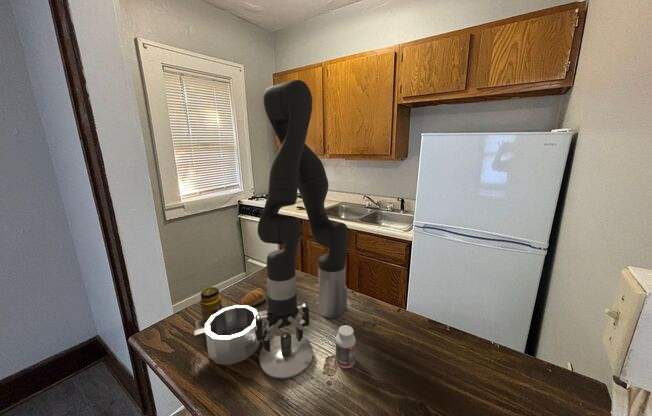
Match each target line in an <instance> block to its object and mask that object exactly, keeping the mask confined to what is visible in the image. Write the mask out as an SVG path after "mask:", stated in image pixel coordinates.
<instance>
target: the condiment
mask: <svg viewBox="0 0 652 416" xmlns="http://www.w3.org/2000/svg"><path fill="white" fill-rule="evenodd" d="M219 291H220V290H219V288H218V287H215V286H211V287H206V288H205V289H202V291H201V292H200V299H201V300H200V303H199V305H200V309H201V318H202V319H199V320H195V321H194V322H195V323H194V324H195V329H196V330H199V329H202V328H205V324H206V322H207V321H208V320H209V318H210V317H211V316H212V315H213V314H215V313H217V312H218V311H220V310H222V309H223V308H222V307H223V305H222V299H221V298H222V297H221V294H220V292H219Z"/></svg>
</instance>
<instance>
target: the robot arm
mask: <svg viewBox="0 0 652 416" xmlns="http://www.w3.org/2000/svg"><path fill="white" fill-rule="evenodd" d="M262 98H263V99H262V100H263V106H264V110H265V113H266V116H267V118H268V121H269V122H270V124H271V127H272V129H273V130H274V133H275V135H276V136H277V138H278V141H279V142H280V148H279V149H278V152H277V154H276V155H275V157H274V159H273V161H272V164H271V167H270V172H269V178H268V191H267V198H266V201H265V203H264V207H263V210H262V213H261V215H260V218H259V220H258V224H257V236H258V237H259V240H260V241H261V242H263V243H265V244H272V245H273V244H274V245H284V248H283V249H277V250H273V251H271V252H269V253H268V254H267V256H266V299H267V300H266V302H267V314H266V315H263V316H260V315H259V314H258V315H256V316H255V335H256V338H257V341H260V340H261V341H262V345H263V347H264V349H265V351H266V350H267V352H270V340H271V339H270V338H271V336H272V335H273V334H275V332H276V331H277V329H278V330H279V329H282V328H284V327H289V326H290V325H291V324H292V325H293V326H294V327H295V334H296V338H297V340H298V342H299V341H301V339H302V338H303V337H304V328H305V327H308V326H310V311H309V306H308V305H307V303H306V302H305V301H303V302H302V303H301V305H298V296H297V295H298V294H297V293H298V292H297V290H298V285H297V284H298V283H297V282H298V281H297V277H296V257H297V251H298V247H299V243H300V240H301V236H302V233H303V226H302V223H301V220H300V218H298V217H296V216H294V215H282V214H281V215H279V214H278V213H279V211H280V210H281V209H282V208H284V207H290V206H293V205H295V204H296V203H297V201H298V193H299V194H300V197H301V200H302V203H303V206H304V209H305V211H306V215H307V219H308V223H309V227H310V231H311V234H312V239H313V240H314V241H315V243H316V244H317V245H319V246H322V247H324V248H327V249H328V253H324V254H323V255H321V256H319V258H318V261H317V263H318V264H317V271H318V275H317V278H318V306H317V307H318V313H319V314H320V315H321V316H322V317H324V318H328V319H336V318H339V317H341V316H343V314H344V313H345V312H347V309H348V308H347V307H348V286H347V285H346V262H347V259H348V258H347V257H348V251H349V247H348V246H349V239H350V238H349V237H350V234H349V227H348V226H347V224H346V223H345V222H344V223H343V222H341V221H337V220H332V219H330V218H329V216H328V214H327V211H326V208H325V201H326V198H327V195H328V191H329V180H328V176H327V172H326V170H325V166H324V164H323V161H322V160H321V158H320V157H318V155H317V154H316V153H315V152H314V151H313V150H312V149H311V148H310V147H309V146H308V145H307V143H306V140H307V135H308V131H309V127H310V122H311V119H312V112H313V95H312V92H311V90H310V88H309V86H308V85H307V83H306V82H305V81H303V80H300V79H293V80H289V81H288V80H287V81H285V82H281V83H278V84H274V85H271V86H269V87H267V88H266V89H265V90H264V93H263V97H262ZM299 312H300V313H301V317H302V319H301V320H299V319H298V318H297V316H298V314H299ZM266 321H267V323H266ZM265 323H266V324H265ZM264 325H266V326H265V328H264V329H263V326H264ZM261 341H260V342H261Z"/></svg>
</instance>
